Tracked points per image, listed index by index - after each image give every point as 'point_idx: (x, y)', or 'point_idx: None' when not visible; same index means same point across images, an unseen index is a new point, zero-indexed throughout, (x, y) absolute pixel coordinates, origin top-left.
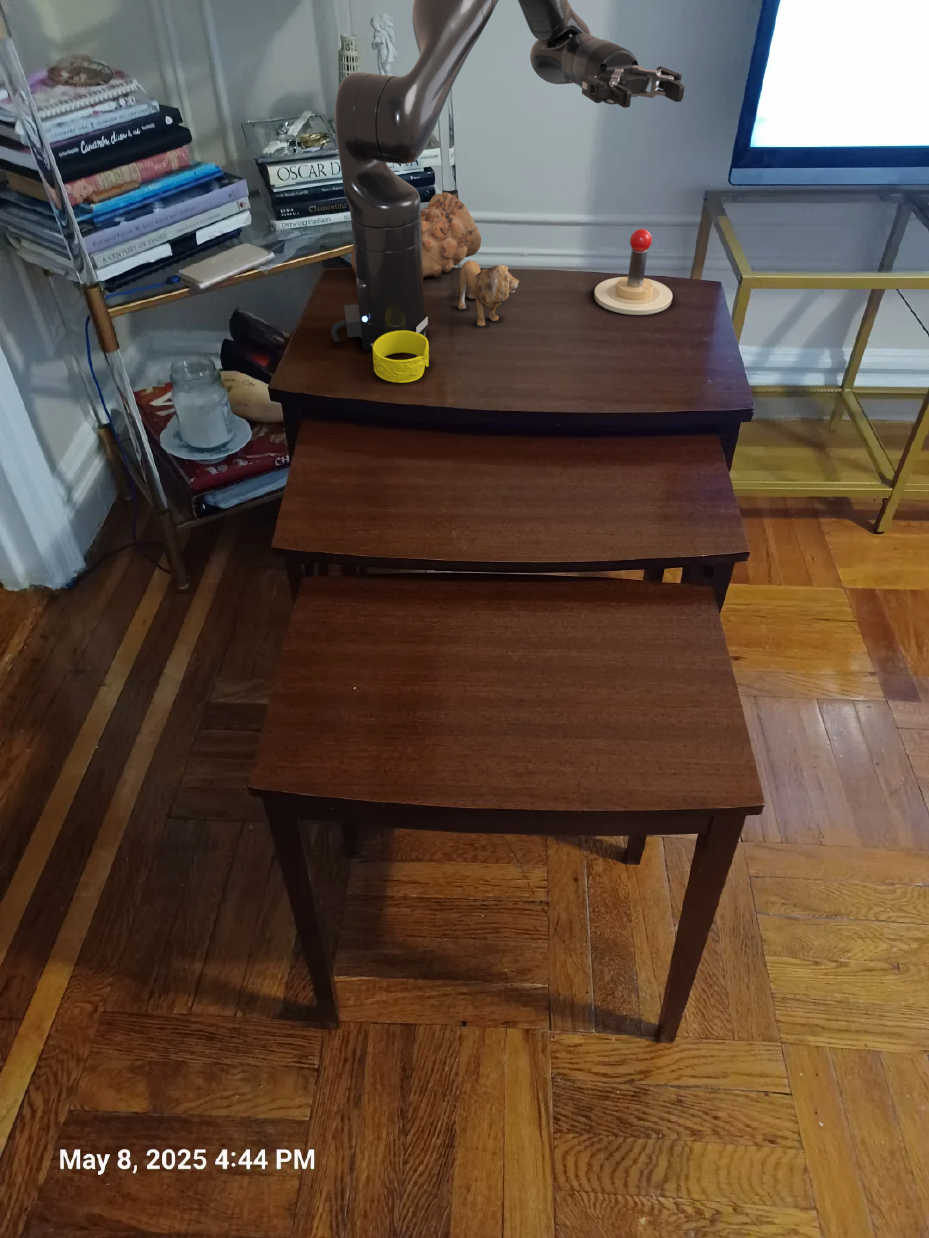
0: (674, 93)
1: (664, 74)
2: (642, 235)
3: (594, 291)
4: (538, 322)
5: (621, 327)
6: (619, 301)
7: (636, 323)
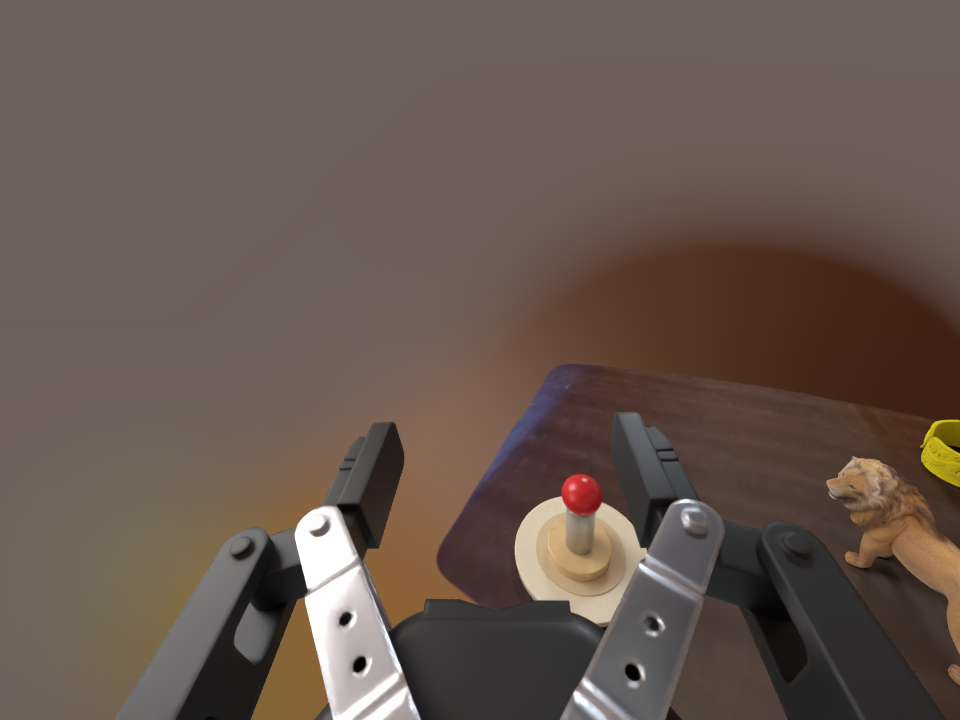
0: (392, 464)
1: (205, 688)
2: (585, 475)
3: None
4: (759, 529)
5: None
6: (613, 529)
7: (600, 485)
